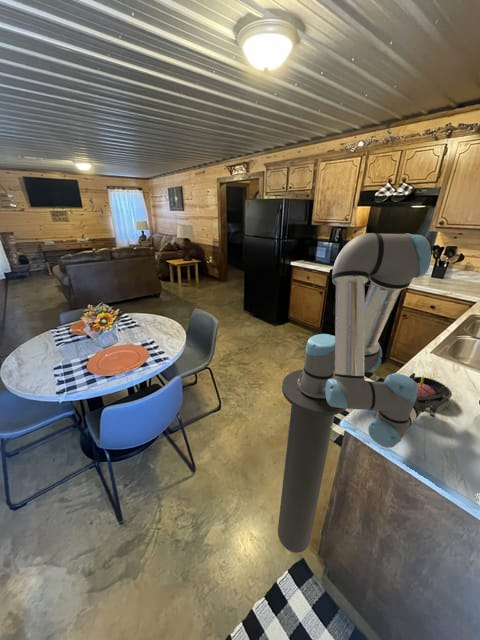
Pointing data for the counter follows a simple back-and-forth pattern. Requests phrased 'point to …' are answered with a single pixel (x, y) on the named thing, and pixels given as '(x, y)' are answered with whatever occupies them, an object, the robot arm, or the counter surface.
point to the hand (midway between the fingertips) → (427, 382)
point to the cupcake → (424, 390)
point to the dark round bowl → (434, 386)
